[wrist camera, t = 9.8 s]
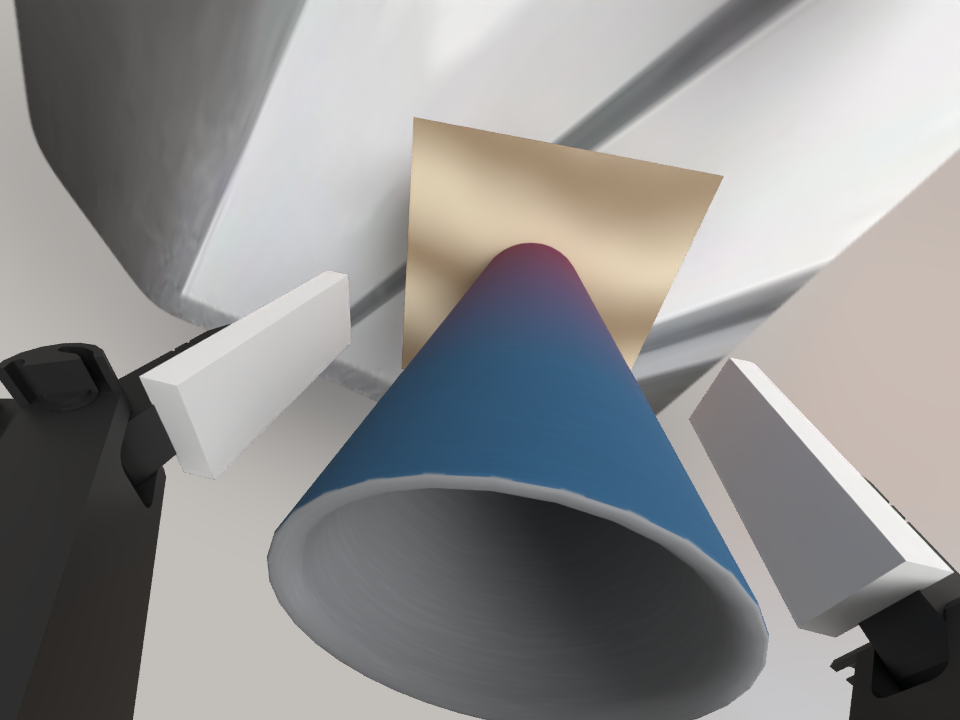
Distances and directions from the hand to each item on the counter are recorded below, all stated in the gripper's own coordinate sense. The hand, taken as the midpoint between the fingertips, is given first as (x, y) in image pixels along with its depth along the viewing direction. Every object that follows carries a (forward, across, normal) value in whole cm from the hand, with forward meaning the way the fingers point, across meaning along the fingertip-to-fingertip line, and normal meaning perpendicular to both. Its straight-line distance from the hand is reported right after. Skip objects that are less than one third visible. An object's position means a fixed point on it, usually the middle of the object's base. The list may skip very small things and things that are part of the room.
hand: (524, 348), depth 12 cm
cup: (+7, 0, 0) cm, 7 cm away
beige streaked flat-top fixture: (+14, 0, 0) cm, 14 cm away
